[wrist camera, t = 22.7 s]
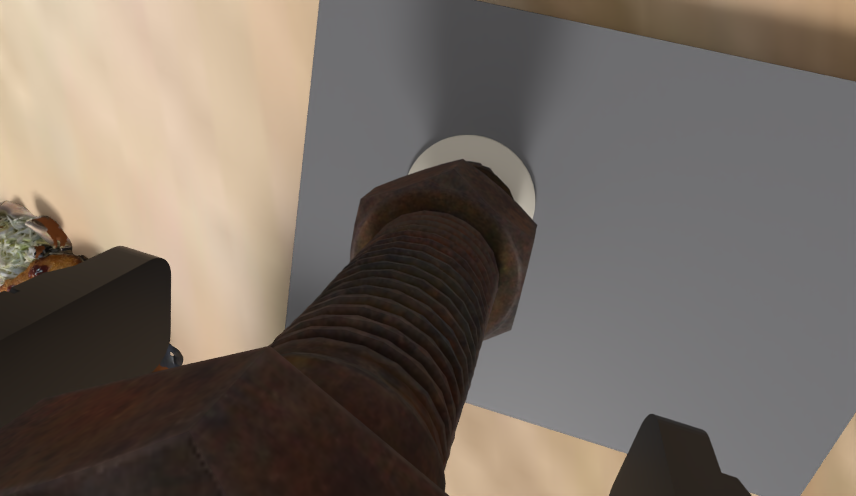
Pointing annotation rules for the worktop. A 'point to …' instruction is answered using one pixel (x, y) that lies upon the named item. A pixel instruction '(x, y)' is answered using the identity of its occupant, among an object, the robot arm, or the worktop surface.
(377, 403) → the bolt
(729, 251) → the board
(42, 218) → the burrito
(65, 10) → the worktop surface
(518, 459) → the worktop surface
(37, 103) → the worktop surface
